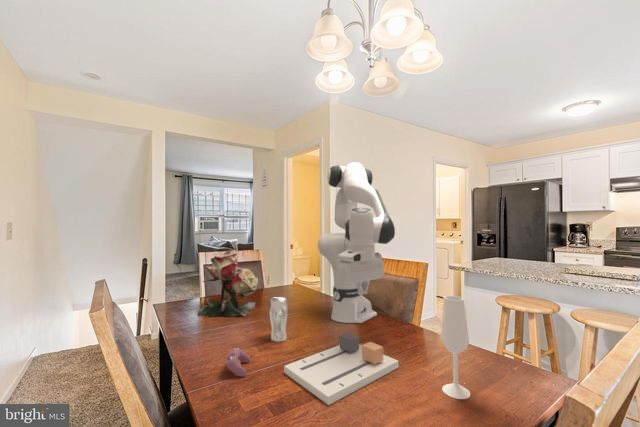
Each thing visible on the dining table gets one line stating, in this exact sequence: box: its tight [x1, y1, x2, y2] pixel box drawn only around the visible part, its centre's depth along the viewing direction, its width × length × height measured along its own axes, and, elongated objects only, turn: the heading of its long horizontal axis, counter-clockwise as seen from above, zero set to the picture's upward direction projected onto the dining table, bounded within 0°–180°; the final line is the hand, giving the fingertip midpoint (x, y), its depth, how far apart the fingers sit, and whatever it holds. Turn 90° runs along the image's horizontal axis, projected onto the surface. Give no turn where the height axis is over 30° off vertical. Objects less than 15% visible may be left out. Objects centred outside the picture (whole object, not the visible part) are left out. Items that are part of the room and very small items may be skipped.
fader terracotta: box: [361, 341, 384, 364], centre depth 88 cm, size 4×5×4 cm
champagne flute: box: [440, 295, 471, 400], centre depth 76 cm, size 7×7×24 cm
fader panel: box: [283, 343, 400, 406], centre depth 87 cm, size 28×20×2 cm
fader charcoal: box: [338, 332, 360, 353], centre depth 96 cm, size 4×5×4 cm
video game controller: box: [225, 347, 252, 378], centre depth 88 cm, size 10×5×7 cm, turn 5°
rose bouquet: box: [193, 250, 259, 318], centre depth 151 cm, size 26×29×30 cm
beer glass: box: [268, 296, 289, 343], centre depth 111 cm, size 7×7×15 cm
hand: (362, 294), depth 101 cm, fingers closed
